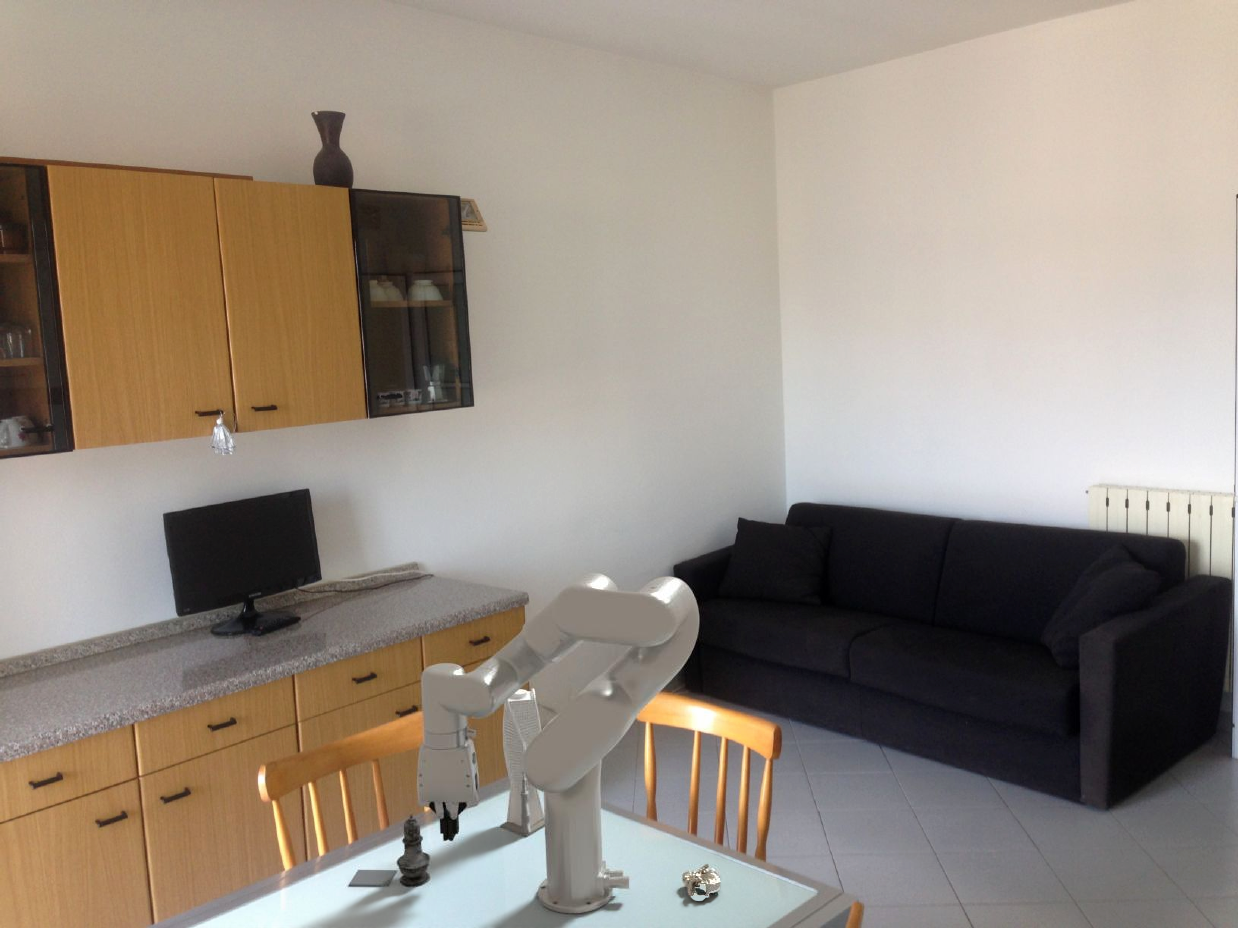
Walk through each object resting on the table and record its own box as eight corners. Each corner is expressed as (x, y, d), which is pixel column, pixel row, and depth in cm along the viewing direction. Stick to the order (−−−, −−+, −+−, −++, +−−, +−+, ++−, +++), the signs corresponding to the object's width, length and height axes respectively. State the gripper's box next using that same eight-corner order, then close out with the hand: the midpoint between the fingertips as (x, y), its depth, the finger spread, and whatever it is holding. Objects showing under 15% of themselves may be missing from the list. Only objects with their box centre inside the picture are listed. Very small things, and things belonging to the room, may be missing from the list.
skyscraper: (494, 825, 201) (488, 686, 198) (522, 809, 208) (517, 674, 204) (526, 836, 196) (520, 694, 193) (554, 820, 202) (549, 682, 199)
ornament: (691, 875, 180) (691, 855, 180) (728, 884, 177) (728, 864, 177) (672, 898, 173) (672, 877, 173) (710, 907, 170) (710, 886, 170)
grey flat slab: (396, 871, 185) (396, 869, 184) (388, 886, 180) (388, 884, 180) (358, 871, 185) (358, 869, 185) (348, 885, 180) (348, 884, 180)
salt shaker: (392, 886, 179) (388, 820, 178) (405, 869, 185) (401, 805, 184) (424, 888, 178) (420, 822, 177) (436, 871, 184) (433, 807, 183)
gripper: (492, 728, 181) (496, 827, 184) (409, 727, 182) (413, 826, 185) (484, 745, 174) (487, 848, 176) (397, 744, 175) (401, 846, 177)
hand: (449, 836), depth 180 cm, fingers closed
